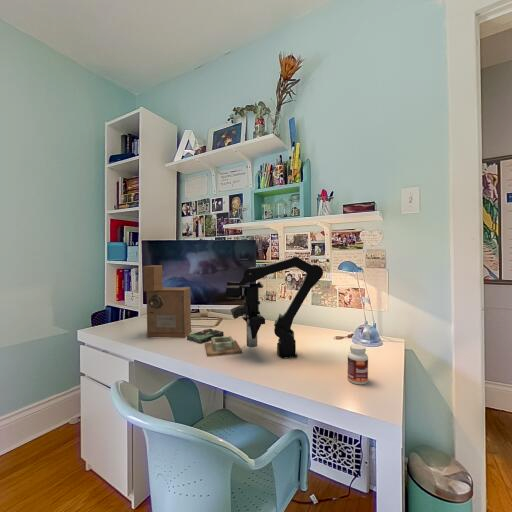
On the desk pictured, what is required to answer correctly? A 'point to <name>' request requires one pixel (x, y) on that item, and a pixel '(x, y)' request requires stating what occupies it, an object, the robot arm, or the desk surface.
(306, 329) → the desk surface
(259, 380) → the desk surface
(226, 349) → the dock board
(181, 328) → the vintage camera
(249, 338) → the peg
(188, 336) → the disk drive
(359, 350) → the pill bottle
